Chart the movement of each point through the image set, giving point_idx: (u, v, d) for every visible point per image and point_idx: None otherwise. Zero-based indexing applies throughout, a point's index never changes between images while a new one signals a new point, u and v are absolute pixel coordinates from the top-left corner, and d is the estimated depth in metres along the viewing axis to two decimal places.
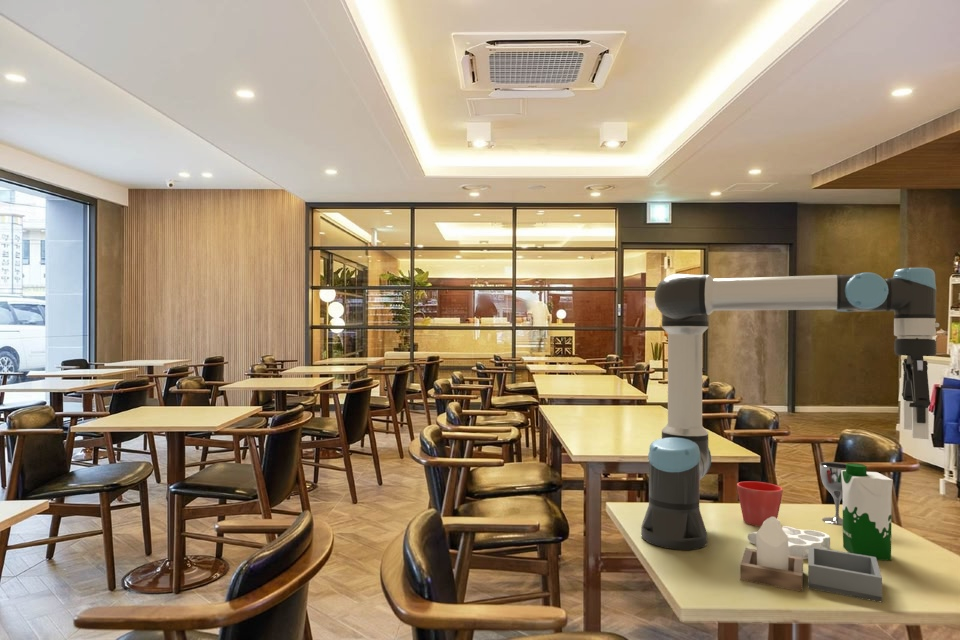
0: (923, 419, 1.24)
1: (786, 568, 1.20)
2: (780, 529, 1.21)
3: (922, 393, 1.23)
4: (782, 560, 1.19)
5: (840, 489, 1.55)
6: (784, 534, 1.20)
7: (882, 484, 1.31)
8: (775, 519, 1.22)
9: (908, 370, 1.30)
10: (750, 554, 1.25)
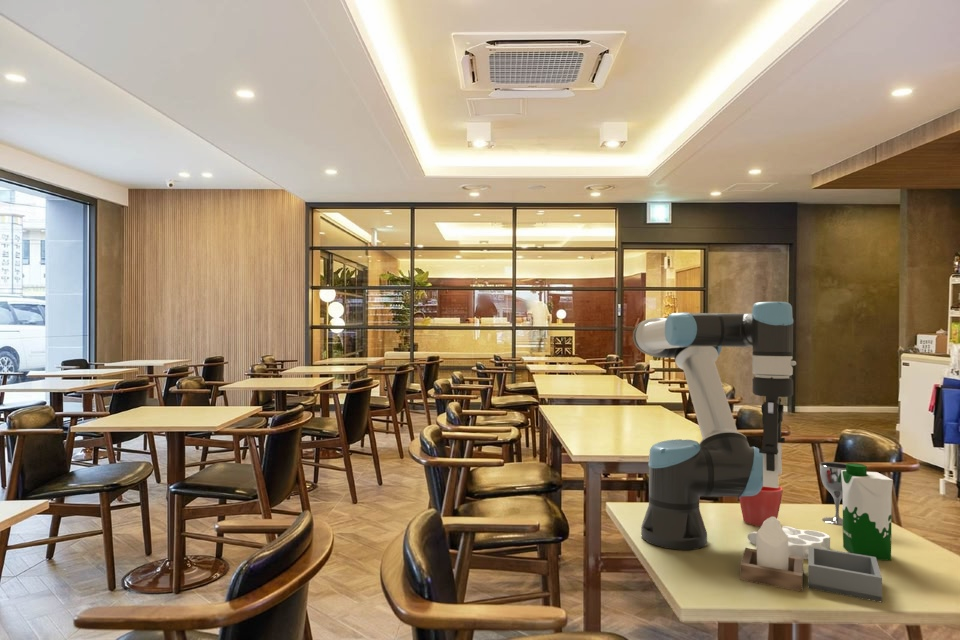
0: (771, 467, 1.15)
1: (786, 568, 1.20)
2: (780, 529, 1.21)
3: (770, 439, 1.14)
4: (782, 560, 1.19)
5: (840, 489, 1.55)
6: (784, 534, 1.20)
7: (882, 484, 1.31)
8: (775, 519, 1.22)
9: (763, 412, 1.21)
10: (750, 554, 1.25)
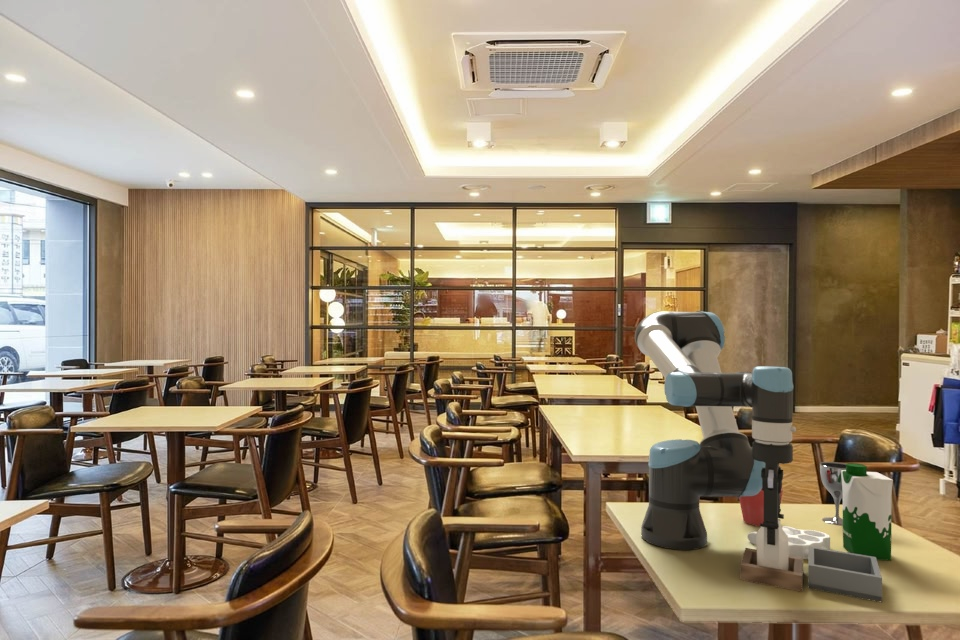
0: (772, 541, 1.18)
1: (786, 568, 1.20)
2: (780, 529, 1.21)
3: (770, 515, 1.16)
4: (782, 560, 1.19)
5: (840, 489, 1.55)
6: (784, 534, 1.20)
7: (882, 484, 1.31)
8: None
9: (763, 480, 1.21)
10: (750, 554, 1.25)
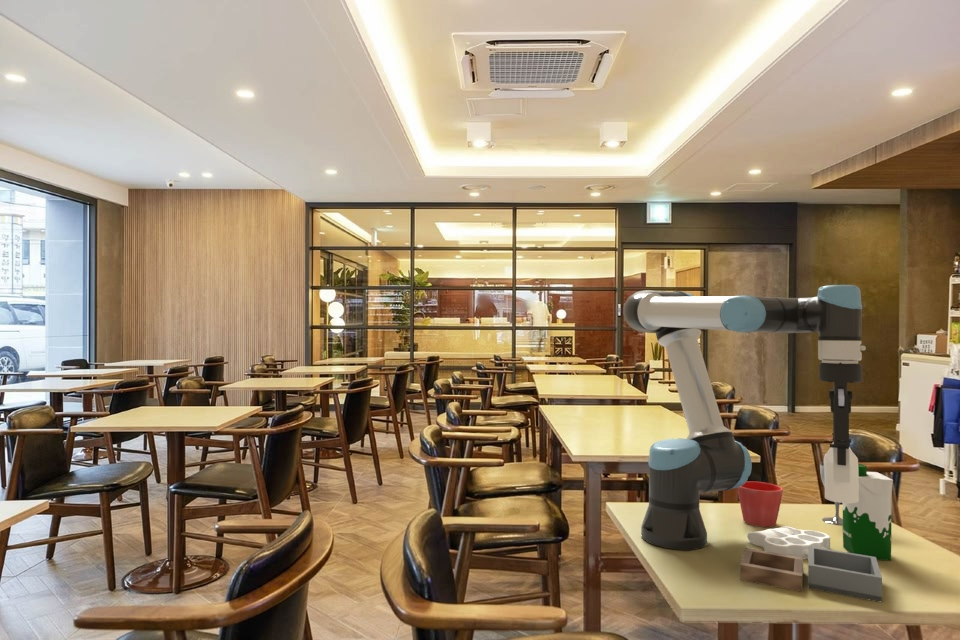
0: (843, 461, 1.14)
1: (857, 490, 1.16)
2: (850, 451, 1.17)
3: (842, 434, 1.13)
4: (852, 481, 1.16)
5: None
6: (854, 456, 1.17)
7: (882, 484, 1.31)
8: None
9: (831, 400, 1.18)
10: (750, 554, 1.25)
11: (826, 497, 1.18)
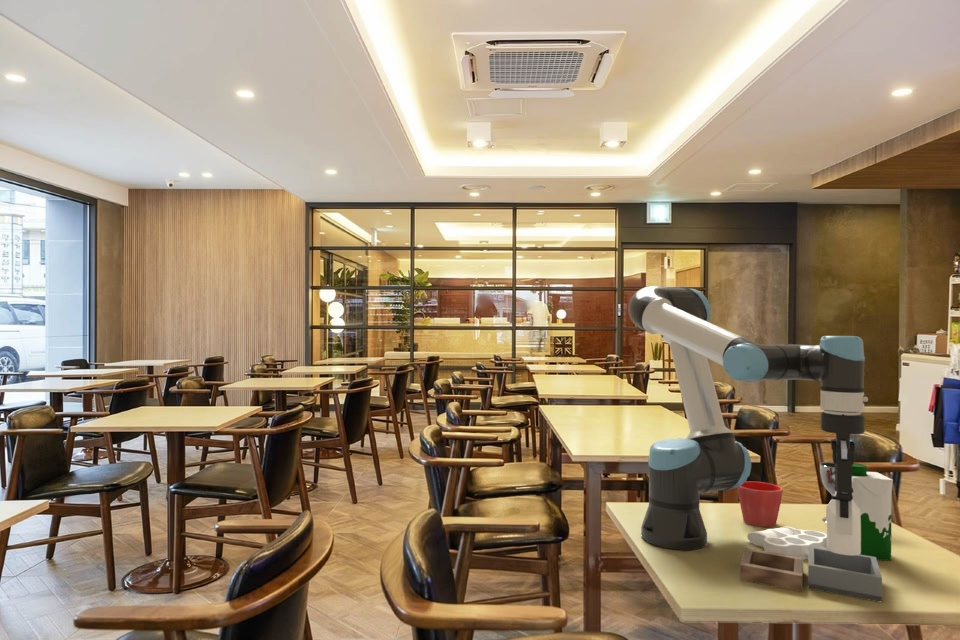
0: (845, 514, 1.14)
1: (859, 542, 1.16)
2: (852, 502, 1.17)
3: (844, 487, 1.13)
4: (855, 533, 1.16)
5: None
6: (856, 507, 1.17)
7: (882, 484, 1.31)
8: None
9: (834, 451, 1.18)
10: (750, 554, 1.25)
11: (828, 548, 1.18)
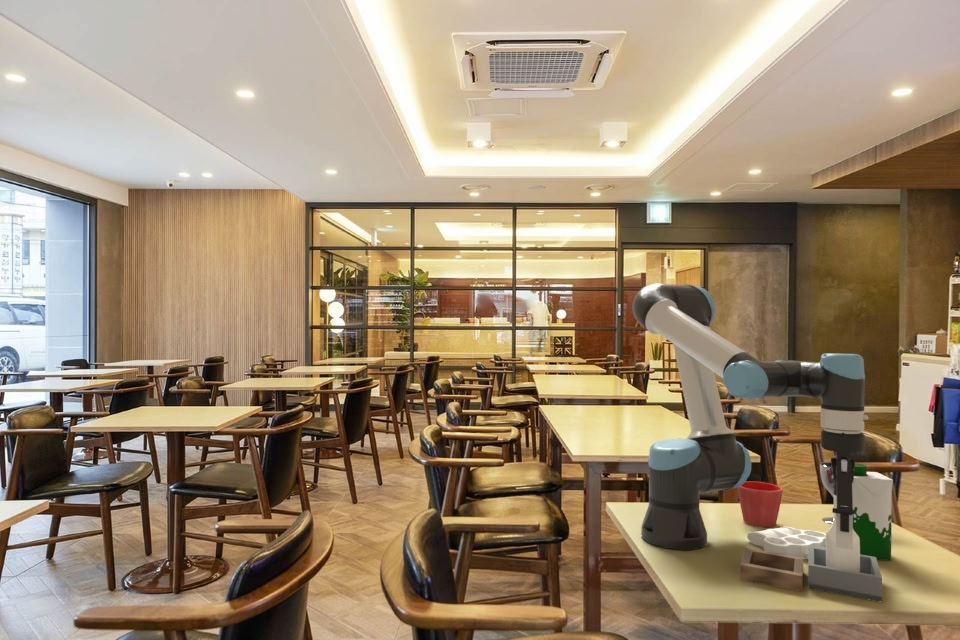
0: (846, 528, 1.11)
1: (858, 570, 1.16)
2: None
3: (845, 499, 1.11)
4: (854, 561, 1.16)
5: None
6: (856, 535, 1.17)
7: (882, 484, 1.31)
8: None
9: (834, 468, 1.17)
10: (750, 554, 1.25)
11: None
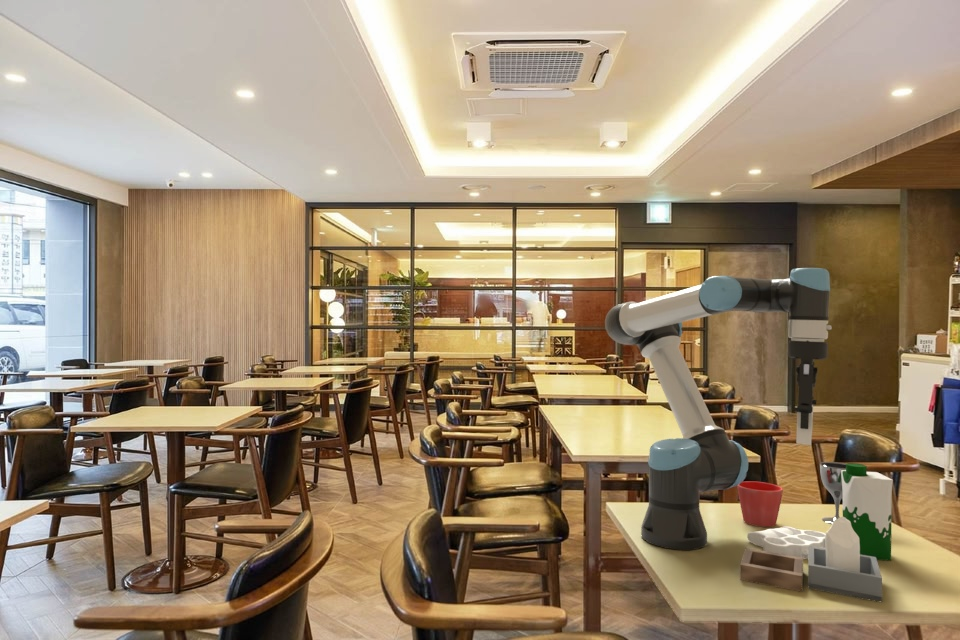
0: (805, 425, 1.20)
1: (858, 570, 1.16)
2: (851, 530, 1.18)
3: (805, 398, 1.19)
4: (854, 561, 1.16)
5: (840, 489, 1.55)
6: (855, 535, 1.17)
7: (882, 484, 1.31)
8: (845, 519, 1.19)
9: (798, 373, 1.26)
10: (750, 554, 1.25)
11: None
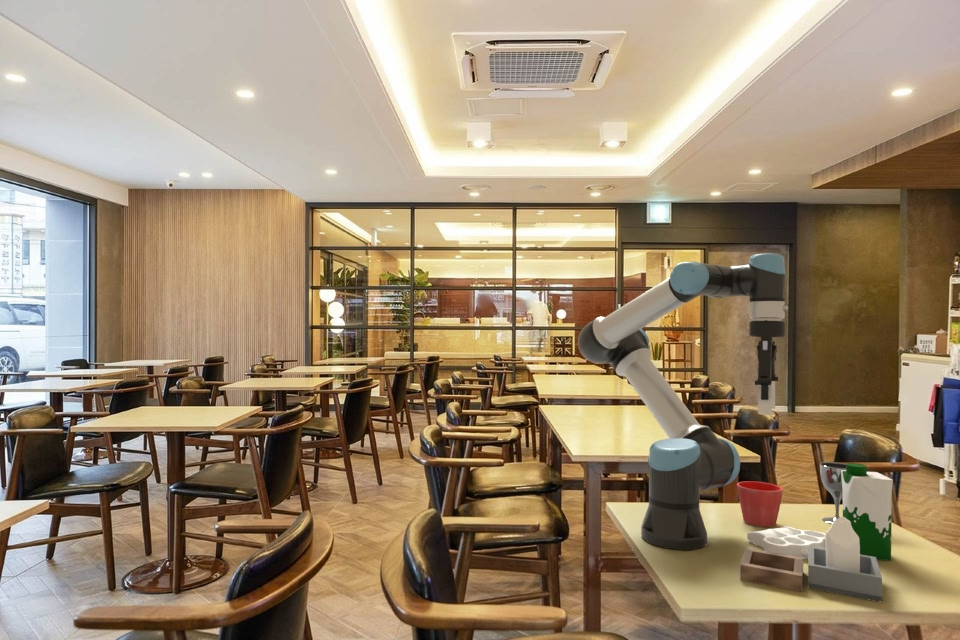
0: (765, 396, 1.31)
1: (858, 570, 1.16)
2: (851, 530, 1.18)
3: (764, 371, 1.30)
4: (854, 561, 1.16)
5: (840, 489, 1.55)
6: (855, 535, 1.17)
7: (882, 484, 1.31)
8: (845, 519, 1.19)
9: (759, 350, 1.37)
10: (750, 554, 1.25)
11: None
